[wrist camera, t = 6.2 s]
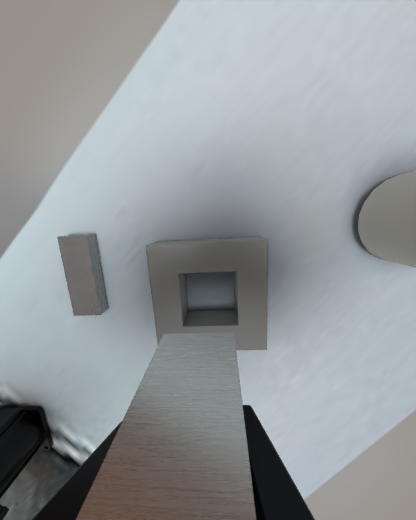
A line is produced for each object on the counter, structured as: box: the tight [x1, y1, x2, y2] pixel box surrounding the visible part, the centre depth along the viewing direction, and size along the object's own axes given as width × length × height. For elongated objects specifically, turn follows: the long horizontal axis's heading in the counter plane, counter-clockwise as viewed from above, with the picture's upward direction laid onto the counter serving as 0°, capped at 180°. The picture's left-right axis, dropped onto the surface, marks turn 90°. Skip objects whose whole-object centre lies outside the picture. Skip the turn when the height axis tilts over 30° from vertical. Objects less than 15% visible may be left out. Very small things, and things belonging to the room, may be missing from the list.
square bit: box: [76, 333, 256, 520], centre depth 6 cm, size 3×3×8 cm
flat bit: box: [57, 234, 108, 316], centre depth 20 cm, size 8×3×2 cm, turn 3°
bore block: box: [146, 236, 268, 350], centre depth 18 cm, size 10×10×3 cm
